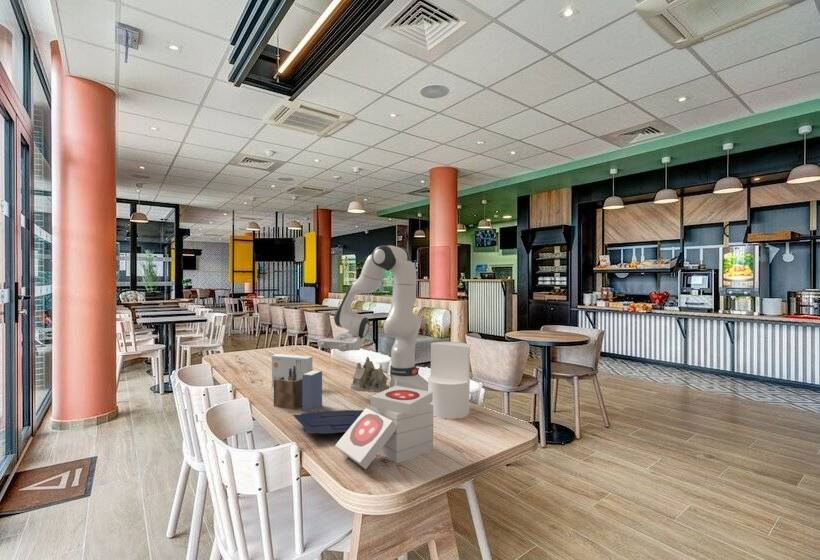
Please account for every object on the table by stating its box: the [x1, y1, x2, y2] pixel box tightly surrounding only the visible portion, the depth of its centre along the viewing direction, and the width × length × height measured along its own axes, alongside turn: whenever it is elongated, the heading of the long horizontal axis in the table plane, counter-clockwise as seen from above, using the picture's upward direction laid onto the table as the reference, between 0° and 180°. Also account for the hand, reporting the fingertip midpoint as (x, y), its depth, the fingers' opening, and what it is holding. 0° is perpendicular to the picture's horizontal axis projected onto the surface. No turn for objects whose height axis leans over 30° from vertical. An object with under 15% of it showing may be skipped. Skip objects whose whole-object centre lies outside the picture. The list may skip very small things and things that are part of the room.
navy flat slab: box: [293, 409, 365, 435], centre depth 152 cm, size 24×30×4 cm
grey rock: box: [350, 356, 388, 392], centre depth 204 cm, size 16×16×15 cm
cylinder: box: [427, 341, 471, 419], centre depth 169 cm, size 17×17×28 cm
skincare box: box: [271, 353, 314, 387], centre depth 205 cm, size 21×5×16 cm, turn 73°
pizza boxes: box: [334, 386, 434, 470], centre depth 130 cm, size 19×30×18 cm, turn 128°
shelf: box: [273, 377, 302, 410], centre depth 179 cm, size 11×12×12 cm
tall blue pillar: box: [301, 369, 323, 412], centre depth 173 cm, size 4×8×15 cm, turn 160°
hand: (329, 346), depth 186 cm, fingers open, 8 cm apart
